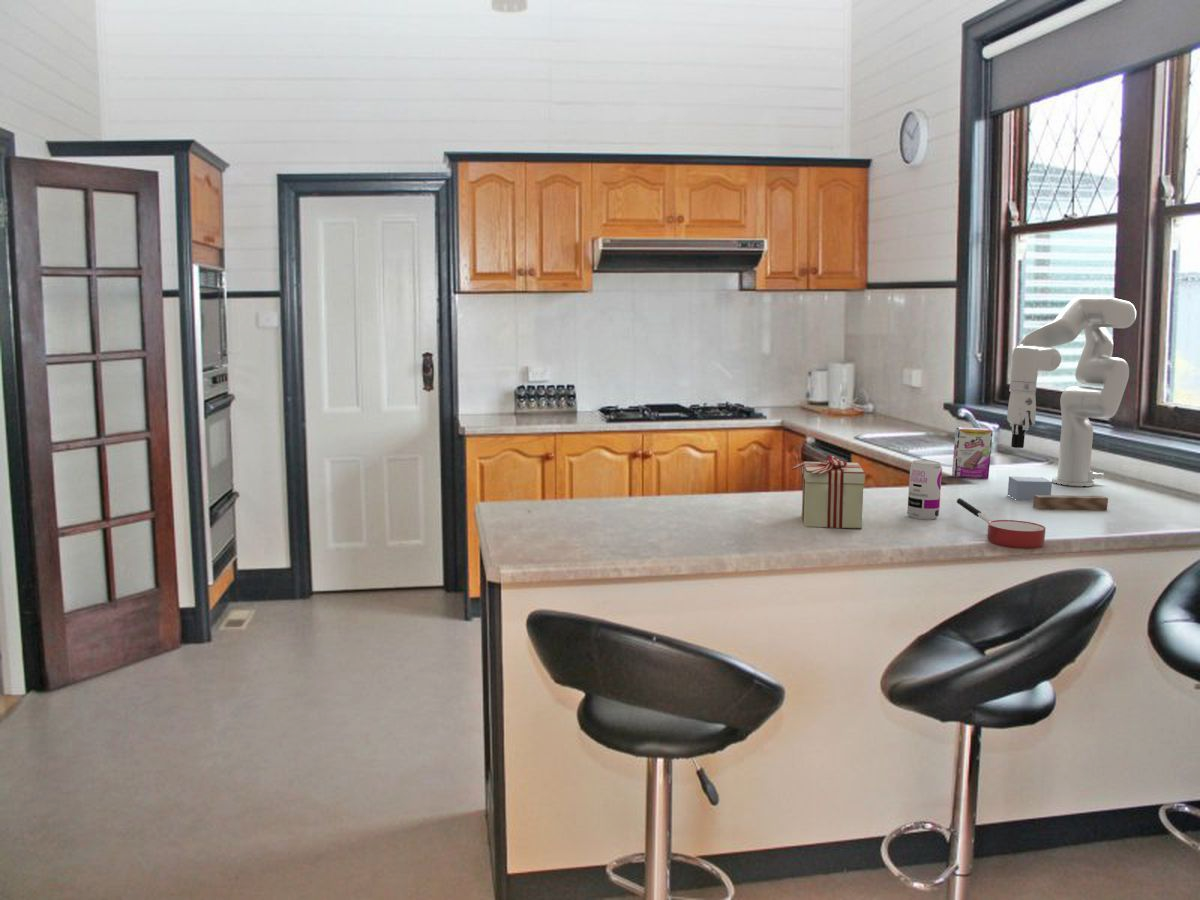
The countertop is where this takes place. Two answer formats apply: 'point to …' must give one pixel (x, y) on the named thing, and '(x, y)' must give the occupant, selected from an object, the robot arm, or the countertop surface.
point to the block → (1028, 487)
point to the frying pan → (1010, 531)
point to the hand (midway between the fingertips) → (1017, 447)
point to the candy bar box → (972, 453)
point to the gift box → (832, 494)
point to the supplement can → (924, 489)
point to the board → (1070, 502)
